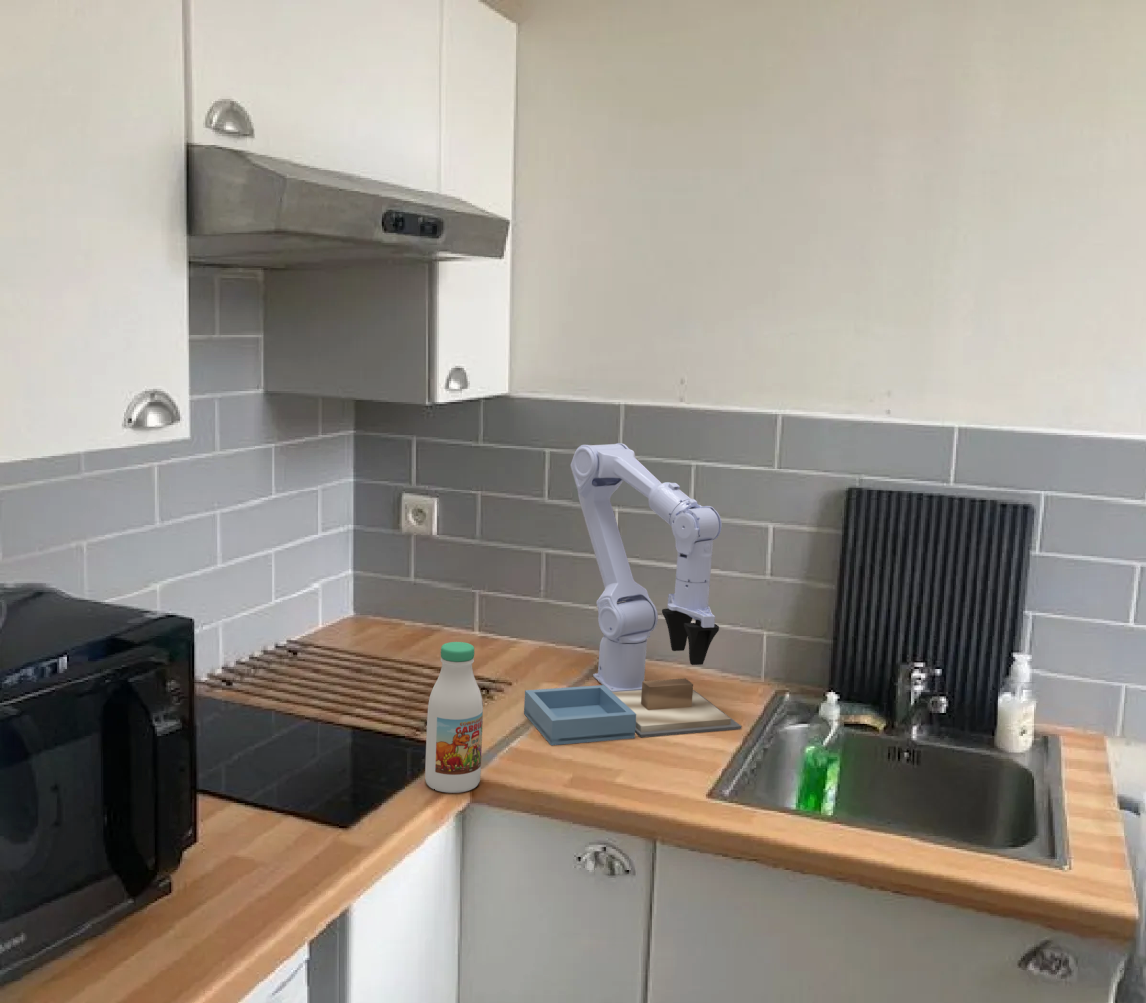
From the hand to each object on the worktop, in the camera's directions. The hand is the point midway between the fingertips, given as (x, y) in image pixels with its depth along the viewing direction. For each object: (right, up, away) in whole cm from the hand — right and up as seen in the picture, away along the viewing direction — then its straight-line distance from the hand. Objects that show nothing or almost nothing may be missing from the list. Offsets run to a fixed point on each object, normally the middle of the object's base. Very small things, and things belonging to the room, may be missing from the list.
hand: (687, 657), depth 191 cm
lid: (-4, -9, -1) cm, 10 cm away
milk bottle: (-36, -13, -32) cm, 50 cm away
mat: (-3, -9, 0) cm, 10 cm away
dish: (-19, -10, -8) cm, 23 cm away
